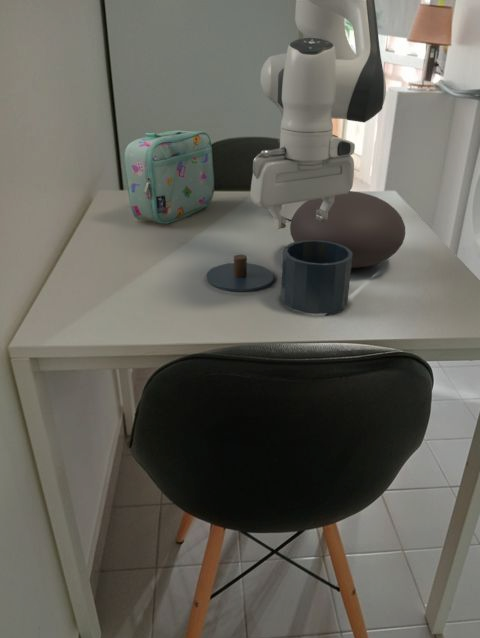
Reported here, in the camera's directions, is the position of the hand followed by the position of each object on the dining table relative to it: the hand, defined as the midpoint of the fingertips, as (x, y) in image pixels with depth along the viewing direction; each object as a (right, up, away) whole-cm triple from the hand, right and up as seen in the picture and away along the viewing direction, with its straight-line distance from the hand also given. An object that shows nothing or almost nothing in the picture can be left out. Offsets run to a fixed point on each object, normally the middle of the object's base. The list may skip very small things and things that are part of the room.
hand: (300, 223), depth 111 cm
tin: (+3, -14, +5) cm, 15 cm away
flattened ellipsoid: (+11, -4, +24) cm, 26 cm away
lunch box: (-30, +12, +49) cm, 59 cm away
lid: (-12, -8, +13) cm, 19 cm away
